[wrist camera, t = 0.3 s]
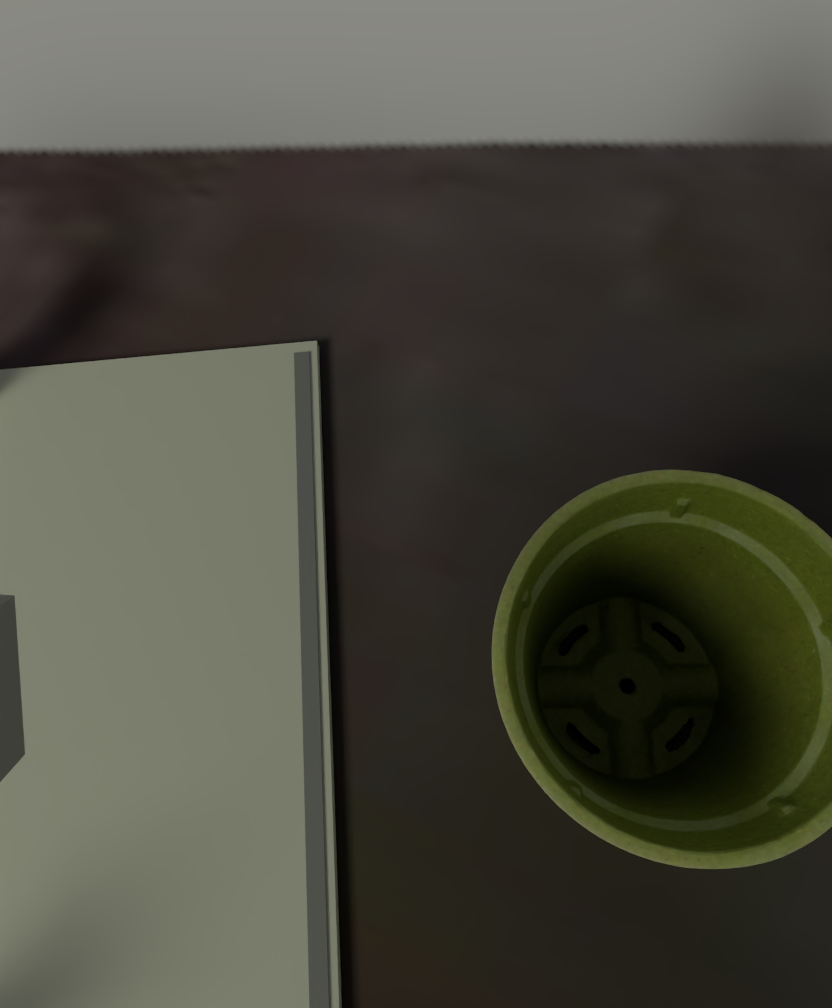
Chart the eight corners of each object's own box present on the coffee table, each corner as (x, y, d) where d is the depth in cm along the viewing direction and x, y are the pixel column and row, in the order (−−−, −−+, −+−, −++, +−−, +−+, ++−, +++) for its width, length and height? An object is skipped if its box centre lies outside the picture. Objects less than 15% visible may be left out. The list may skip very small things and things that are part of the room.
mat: (345, 1117, 24) (258, 1377, 14) (-140, 1144, 24) (-558, 1411, 14) (319, 346, 32) (251, 159, 22) (-47, 380, 32) (-276, 212, 22)
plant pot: (428, 699, 27) (411, 674, 19) (597, 500, 29) (648, 400, 21) (650, 899, 25) (740, 969, 17) (819, 671, 27) (974, 633, 19)
